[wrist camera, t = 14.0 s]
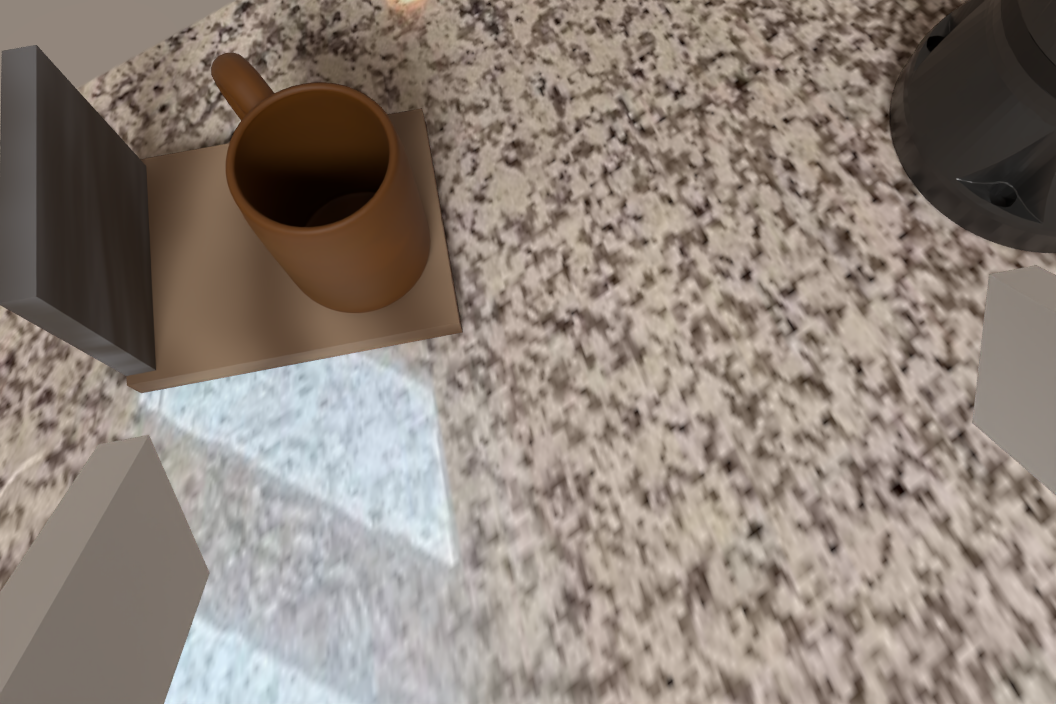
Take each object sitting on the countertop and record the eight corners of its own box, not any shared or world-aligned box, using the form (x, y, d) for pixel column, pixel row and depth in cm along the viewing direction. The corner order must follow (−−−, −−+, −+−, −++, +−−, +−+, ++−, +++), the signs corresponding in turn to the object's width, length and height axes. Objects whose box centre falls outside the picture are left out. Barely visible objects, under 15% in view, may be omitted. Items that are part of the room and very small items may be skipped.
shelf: (425, 123, 47) (386, -27, 36) (462, 332, 43) (430, 234, 32) (132, 177, 46) (2, 41, 35) (141, 393, 42) (-3, 315, 31)
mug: (216, 190, 44) (130, 81, 35) (328, 110, 46) (273, -14, 37) (347, 347, 41) (289, 273, 32) (463, 257, 43) (438, 161, 34)
